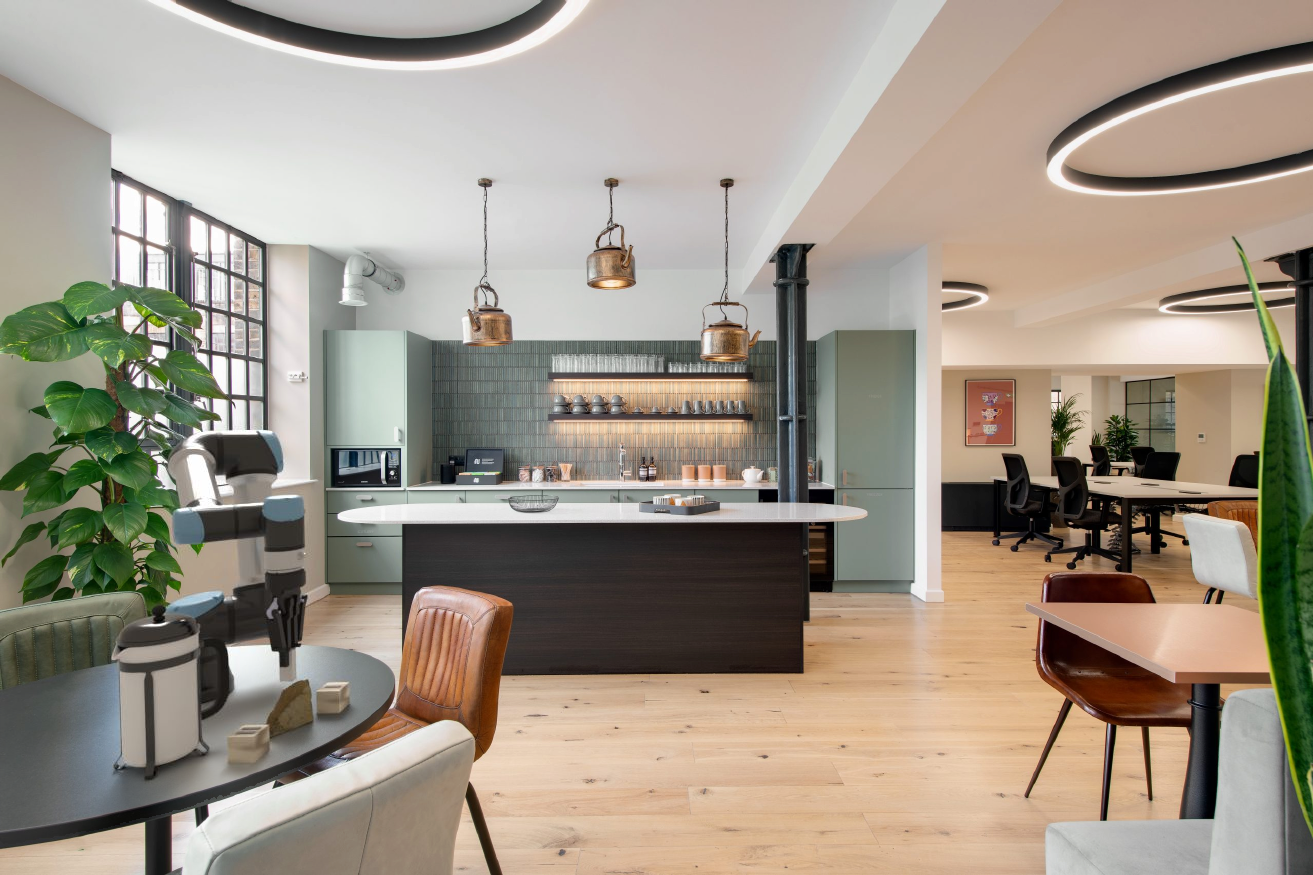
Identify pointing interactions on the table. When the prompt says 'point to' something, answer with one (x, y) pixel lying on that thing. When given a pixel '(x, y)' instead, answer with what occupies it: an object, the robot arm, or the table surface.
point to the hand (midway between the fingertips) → (288, 680)
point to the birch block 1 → (248, 743)
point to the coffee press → (164, 689)
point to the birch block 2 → (333, 697)
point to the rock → (291, 709)
